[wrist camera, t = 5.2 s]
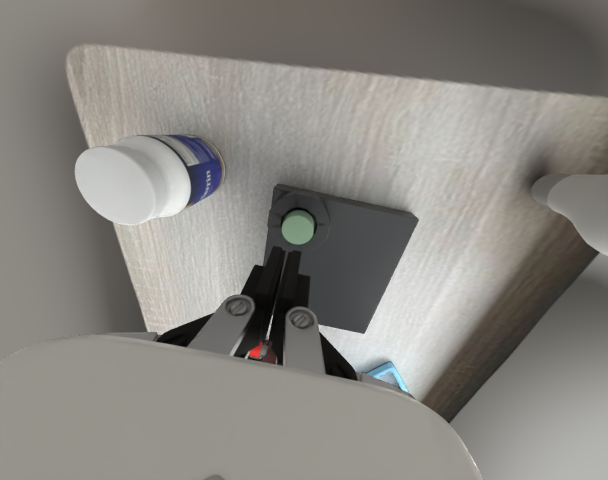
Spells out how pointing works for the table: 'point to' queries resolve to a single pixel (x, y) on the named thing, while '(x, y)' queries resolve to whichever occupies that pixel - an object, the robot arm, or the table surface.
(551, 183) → the lightbulb
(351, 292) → the dark grey button base
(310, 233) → the button
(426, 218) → the table surface
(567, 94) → the table surface
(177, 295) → the table surface
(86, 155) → the pill bottle
